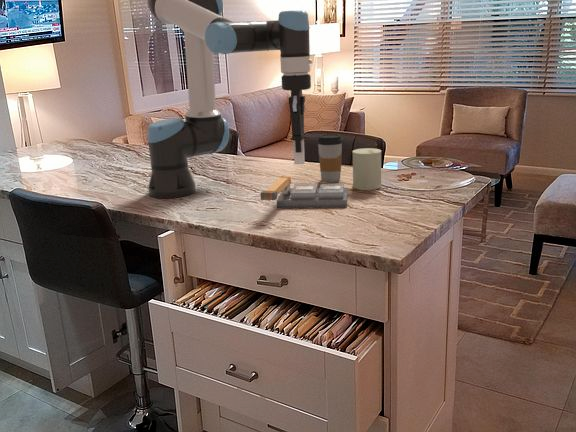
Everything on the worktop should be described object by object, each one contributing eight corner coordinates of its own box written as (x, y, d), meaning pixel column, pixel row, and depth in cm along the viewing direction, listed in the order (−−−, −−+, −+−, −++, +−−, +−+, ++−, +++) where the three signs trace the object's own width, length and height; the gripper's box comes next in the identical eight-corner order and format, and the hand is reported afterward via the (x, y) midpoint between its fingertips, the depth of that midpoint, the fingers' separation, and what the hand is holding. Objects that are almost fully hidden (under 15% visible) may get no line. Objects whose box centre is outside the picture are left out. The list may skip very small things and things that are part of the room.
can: (363, 191, 183) (363, 153, 179) (347, 185, 191) (346, 149, 187) (387, 187, 187) (387, 149, 183) (370, 181, 195) (370, 145, 191)
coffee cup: (341, 183, 194) (340, 138, 190) (316, 183, 196) (315, 138, 191) (344, 177, 202) (343, 133, 198) (320, 177, 204) (319, 134, 199)
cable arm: (280, 181, 177) (280, 175, 176) (293, 182, 176) (293, 175, 175) (260, 199, 159) (260, 192, 158) (275, 200, 158) (274, 193, 157)
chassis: (277, 207, 170) (276, 190, 169) (283, 194, 184) (282, 178, 182) (346, 206, 168) (346, 189, 166) (347, 194, 181) (347, 177, 180)
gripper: (308, 75, 146) (311, 168, 153) (312, 71, 158) (315, 158, 165) (278, 76, 147) (282, 169, 154) (284, 72, 159) (288, 158, 166)
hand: (299, 163), depth 159 cm, fingers closed
